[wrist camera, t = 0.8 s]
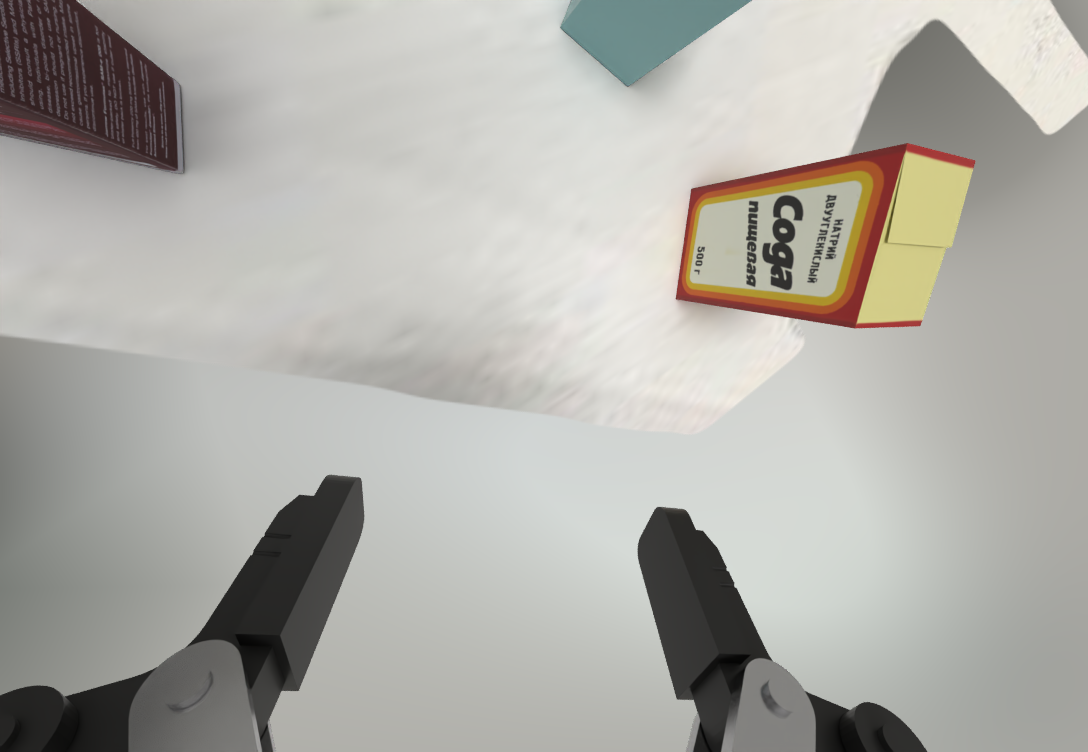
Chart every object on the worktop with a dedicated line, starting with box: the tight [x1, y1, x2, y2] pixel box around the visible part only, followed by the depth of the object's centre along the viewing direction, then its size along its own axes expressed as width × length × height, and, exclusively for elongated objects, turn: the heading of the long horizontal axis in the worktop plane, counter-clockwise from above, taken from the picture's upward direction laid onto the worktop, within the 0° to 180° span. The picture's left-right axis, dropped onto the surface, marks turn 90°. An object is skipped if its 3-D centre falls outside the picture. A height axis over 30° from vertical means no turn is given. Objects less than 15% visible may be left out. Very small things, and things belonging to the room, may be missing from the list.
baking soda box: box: [676, 143, 975, 328], centre depth 29 cm, size 10×6×16 cm
